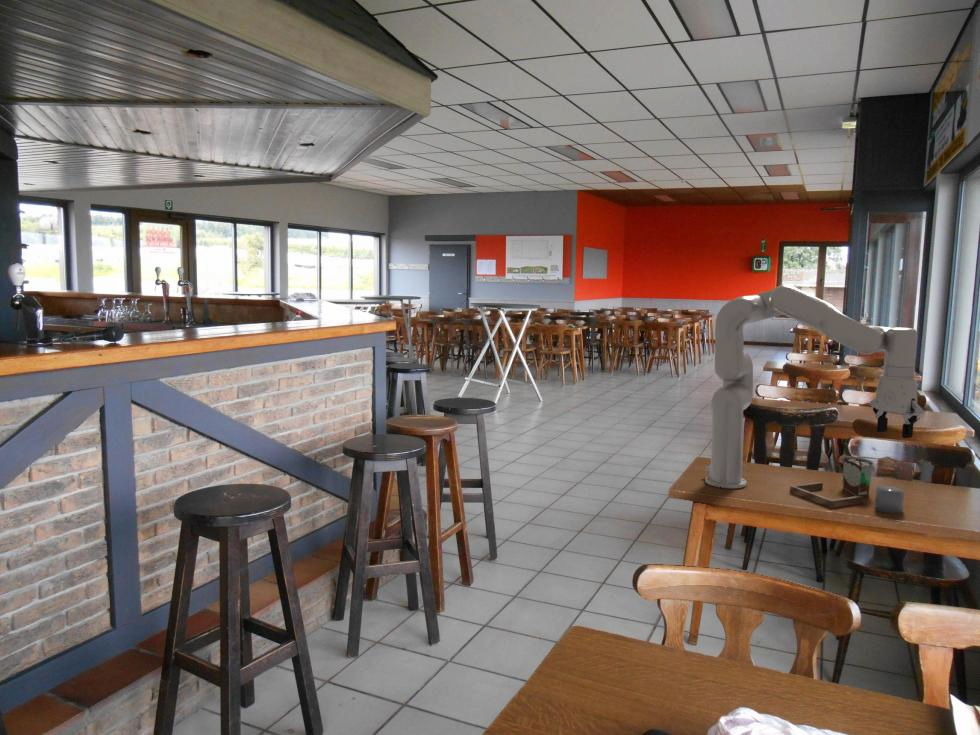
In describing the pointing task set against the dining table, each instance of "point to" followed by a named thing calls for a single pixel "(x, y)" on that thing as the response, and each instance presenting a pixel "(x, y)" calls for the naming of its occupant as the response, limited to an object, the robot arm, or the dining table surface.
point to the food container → (857, 475)
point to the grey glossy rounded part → (889, 499)
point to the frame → (804, 492)
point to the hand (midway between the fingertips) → (894, 434)
